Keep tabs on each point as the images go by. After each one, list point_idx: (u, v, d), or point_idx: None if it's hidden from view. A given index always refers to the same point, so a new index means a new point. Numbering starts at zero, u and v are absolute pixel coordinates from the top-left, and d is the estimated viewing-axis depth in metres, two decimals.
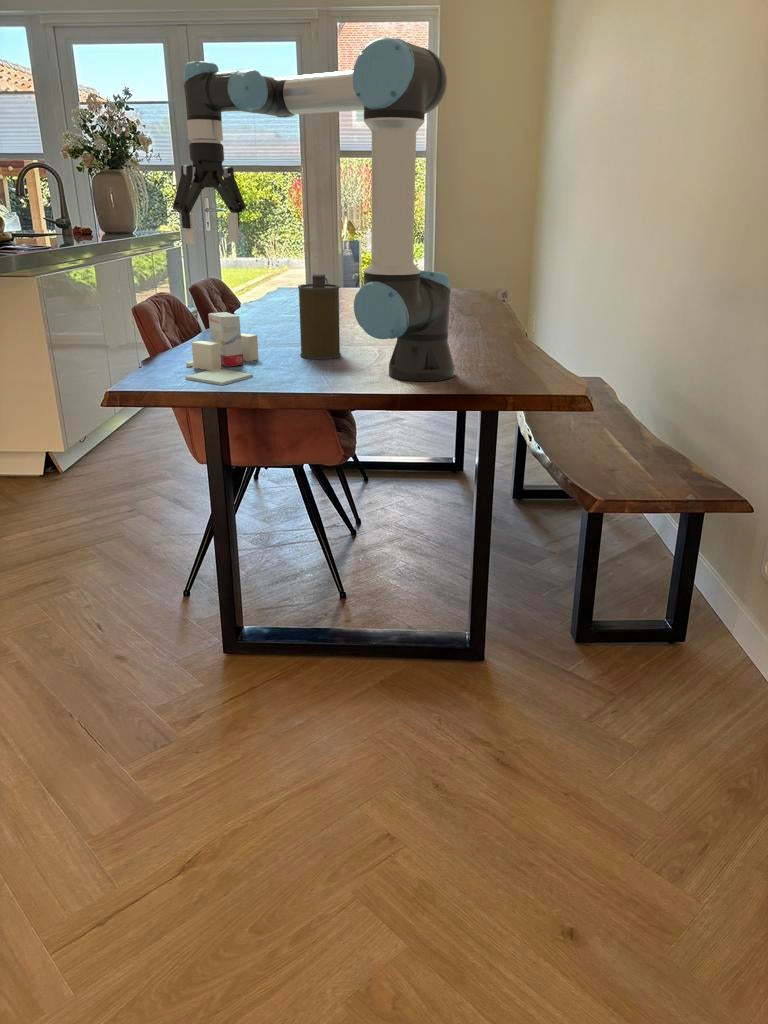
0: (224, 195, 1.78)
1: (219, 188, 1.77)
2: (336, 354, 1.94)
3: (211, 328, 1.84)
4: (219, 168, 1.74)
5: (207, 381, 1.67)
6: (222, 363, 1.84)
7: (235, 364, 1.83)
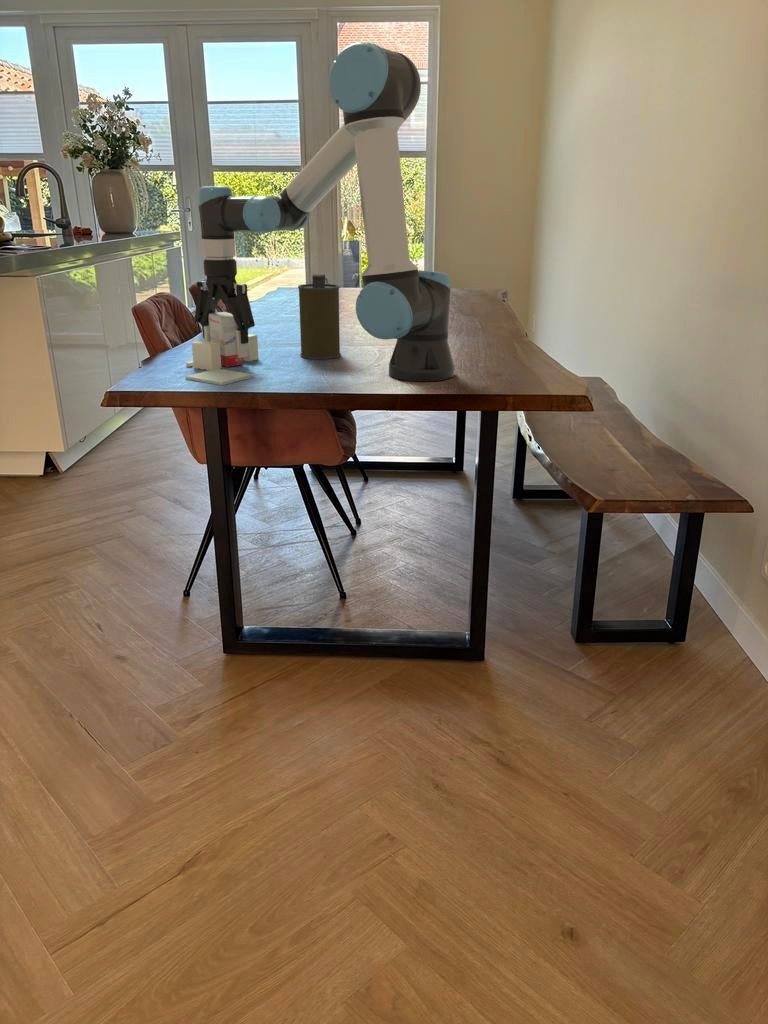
0: None
1: None
2: (336, 354, 1.94)
3: (211, 328, 1.84)
4: (226, 282, 1.77)
5: (207, 381, 1.67)
6: (222, 363, 1.84)
7: (235, 364, 1.83)
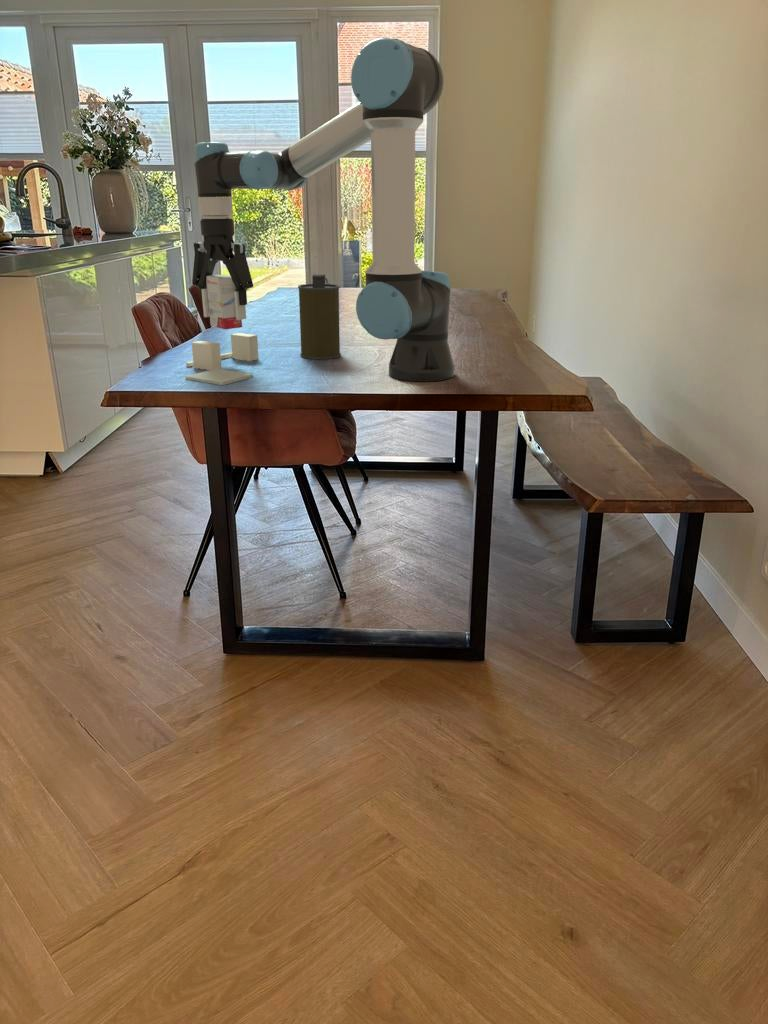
0: None
1: None
2: (336, 354, 1.94)
3: (208, 290, 1.81)
4: (224, 242, 1.74)
5: (207, 381, 1.67)
6: (220, 326, 1.80)
7: (233, 327, 1.80)
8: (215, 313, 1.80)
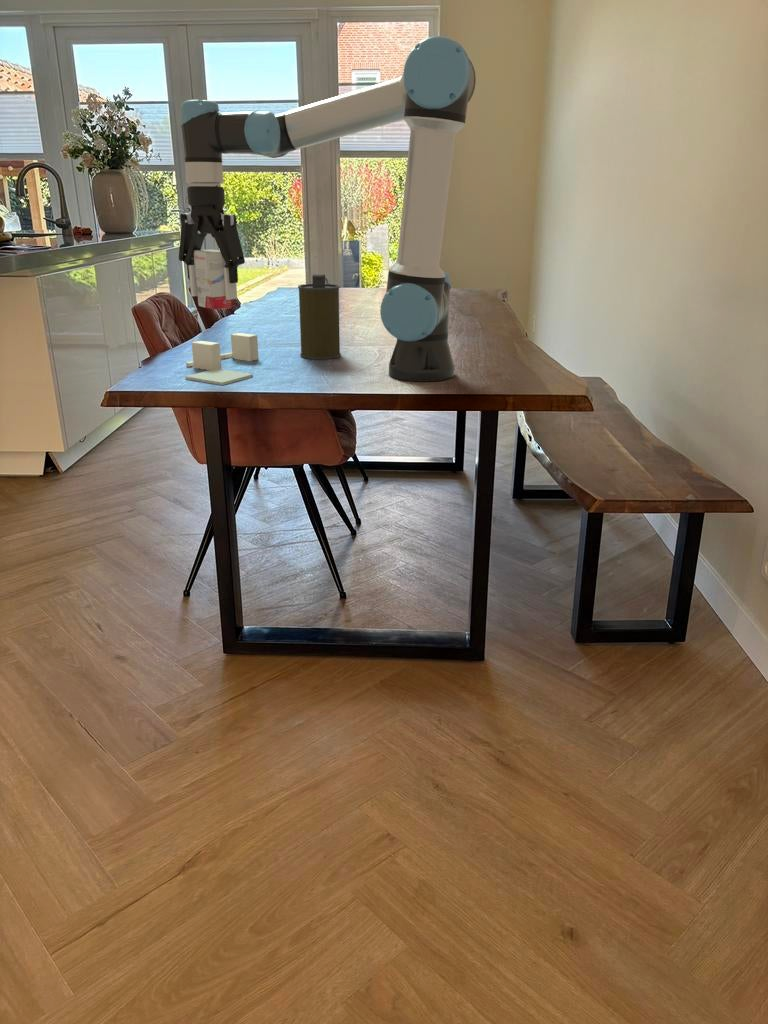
0: None
1: None
2: (336, 354, 1.94)
3: (196, 267, 1.64)
4: (213, 212, 1.57)
5: (207, 381, 1.67)
6: (208, 306, 1.64)
7: (223, 307, 1.63)
8: (203, 291, 1.64)
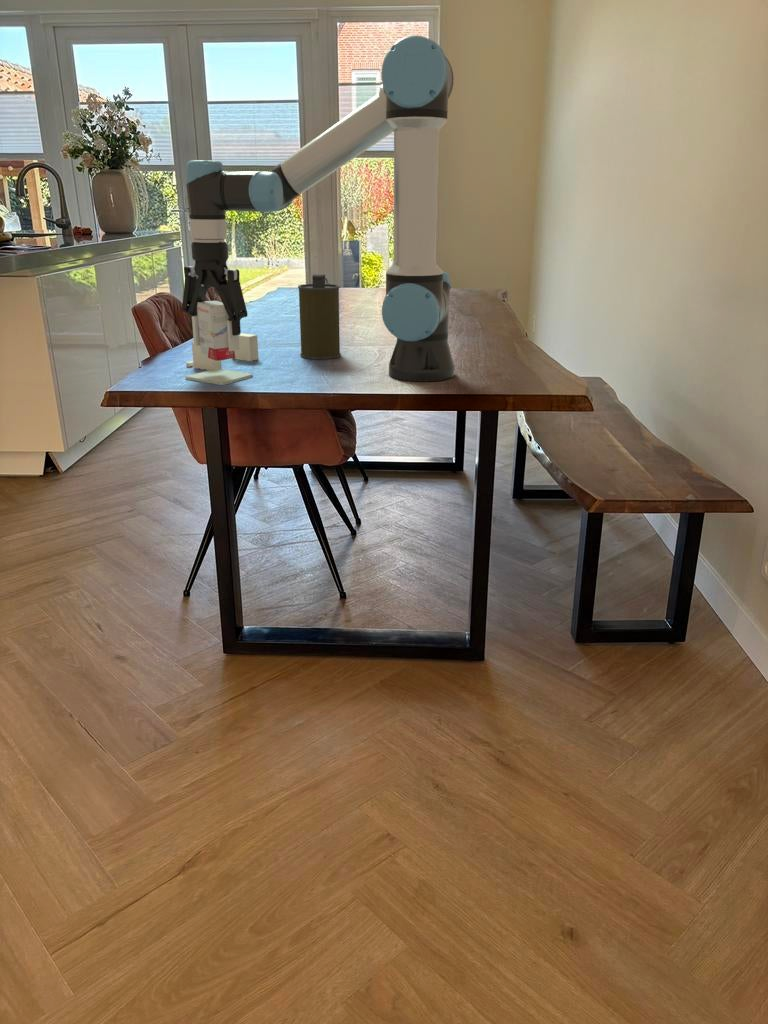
0: None
1: None
2: (336, 354, 1.94)
3: (199, 318, 1.68)
4: (216, 267, 1.60)
5: (207, 381, 1.67)
6: (211, 356, 1.67)
7: (225, 358, 1.67)
8: (206, 342, 1.67)
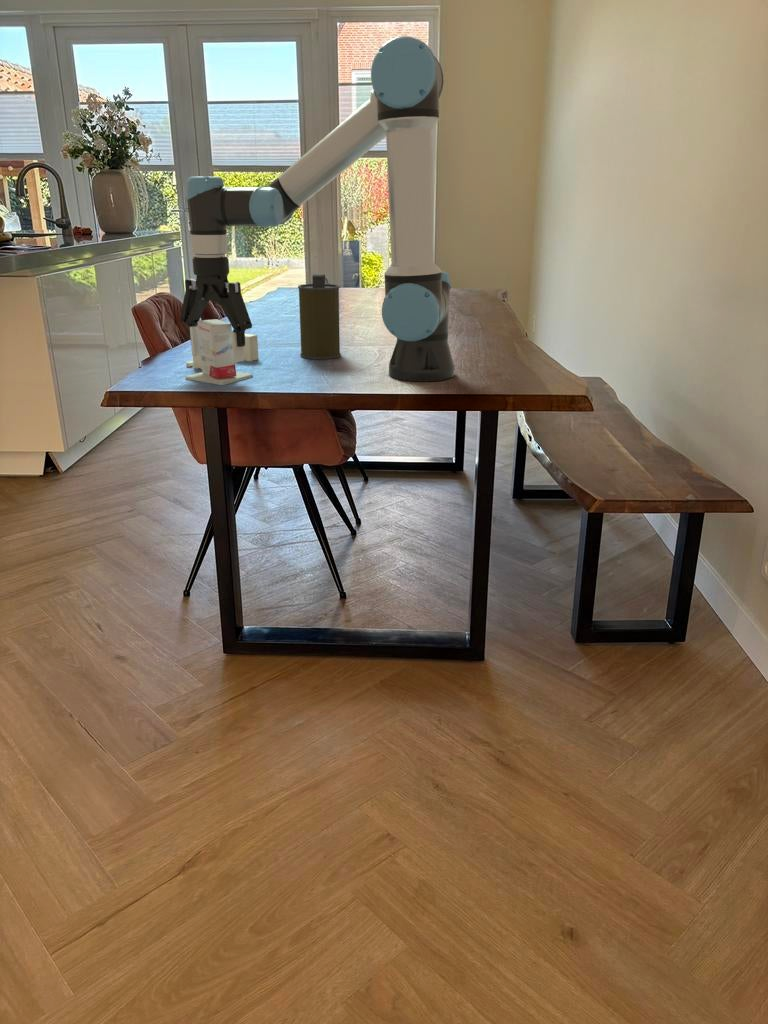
0: None
1: None
2: (336, 354, 1.94)
3: (200, 337, 1.69)
4: (217, 282, 1.62)
5: (207, 381, 1.67)
6: (213, 375, 1.69)
7: (227, 376, 1.68)
8: (208, 361, 1.69)
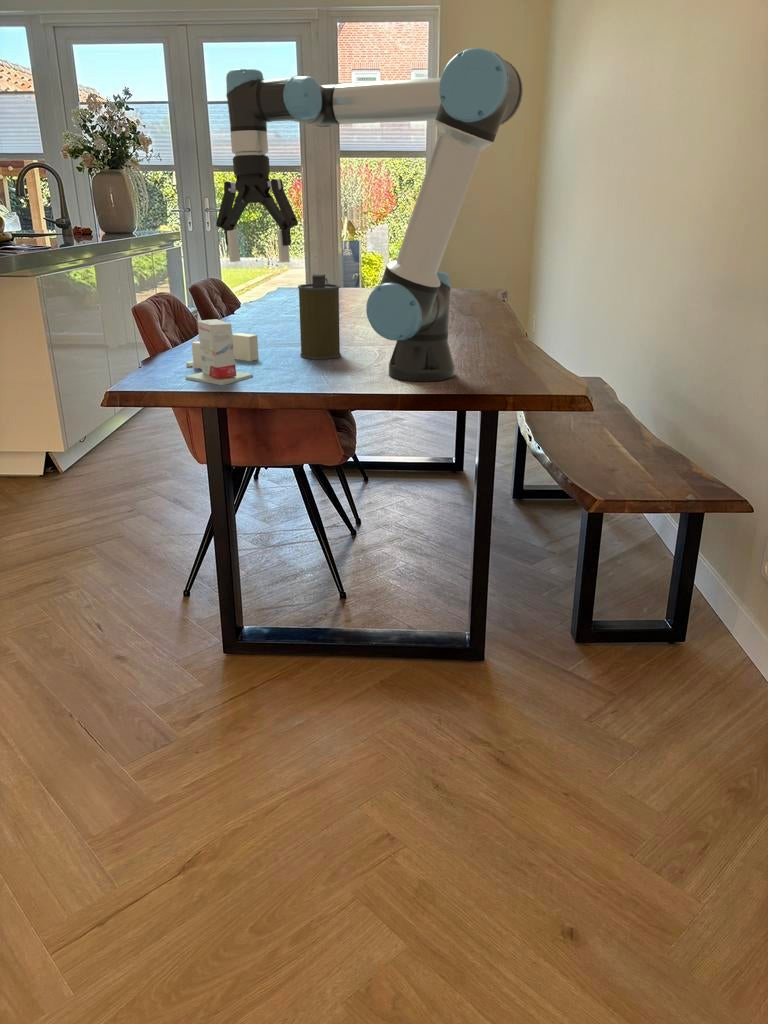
0: None
1: None
2: (336, 354, 1.94)
3: (200, 337, 1.69)
4: (259, 181, 1.59)
5: (207, 381, 1.67)
6: (213, 375, 1.69)
7: (227, 376, 1.68)
8: (208, 361, 1.69)
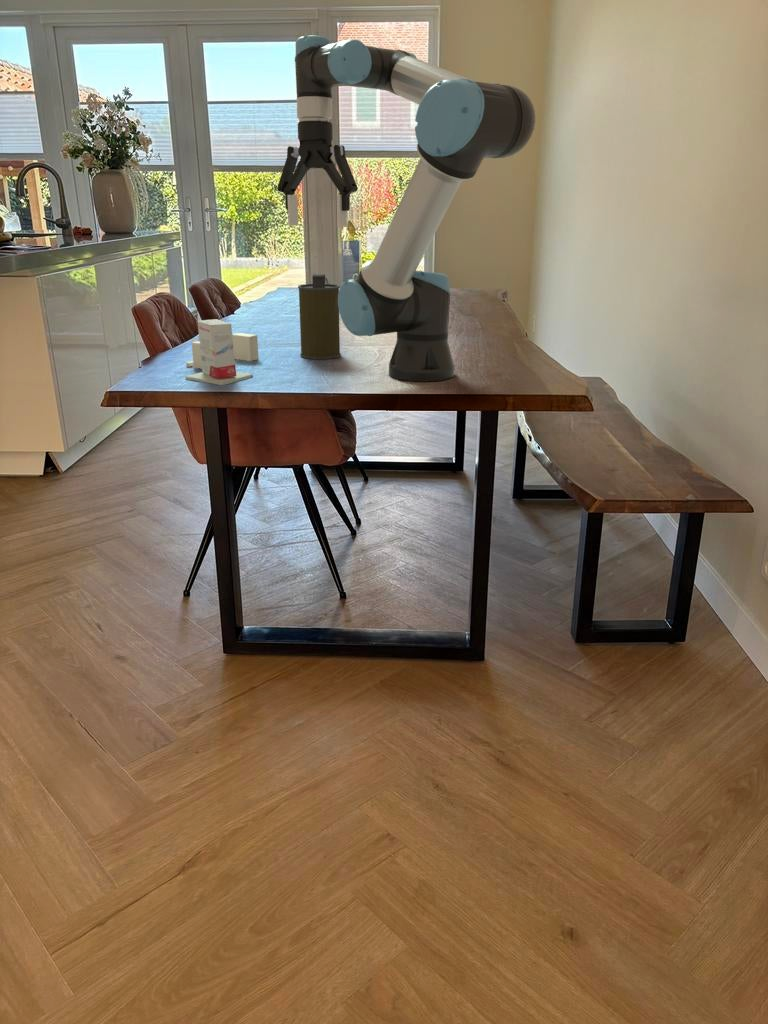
0: None
1: None
2: (336, 354, 1.94)
3: (200, 337, 1.69)
4: (322, 147, 1.64)
5: (207, 381, 1.67)
6: (213, 375, 1.69)
7: (227, 376, 1.68)
8: (208, 361, 1.69)
